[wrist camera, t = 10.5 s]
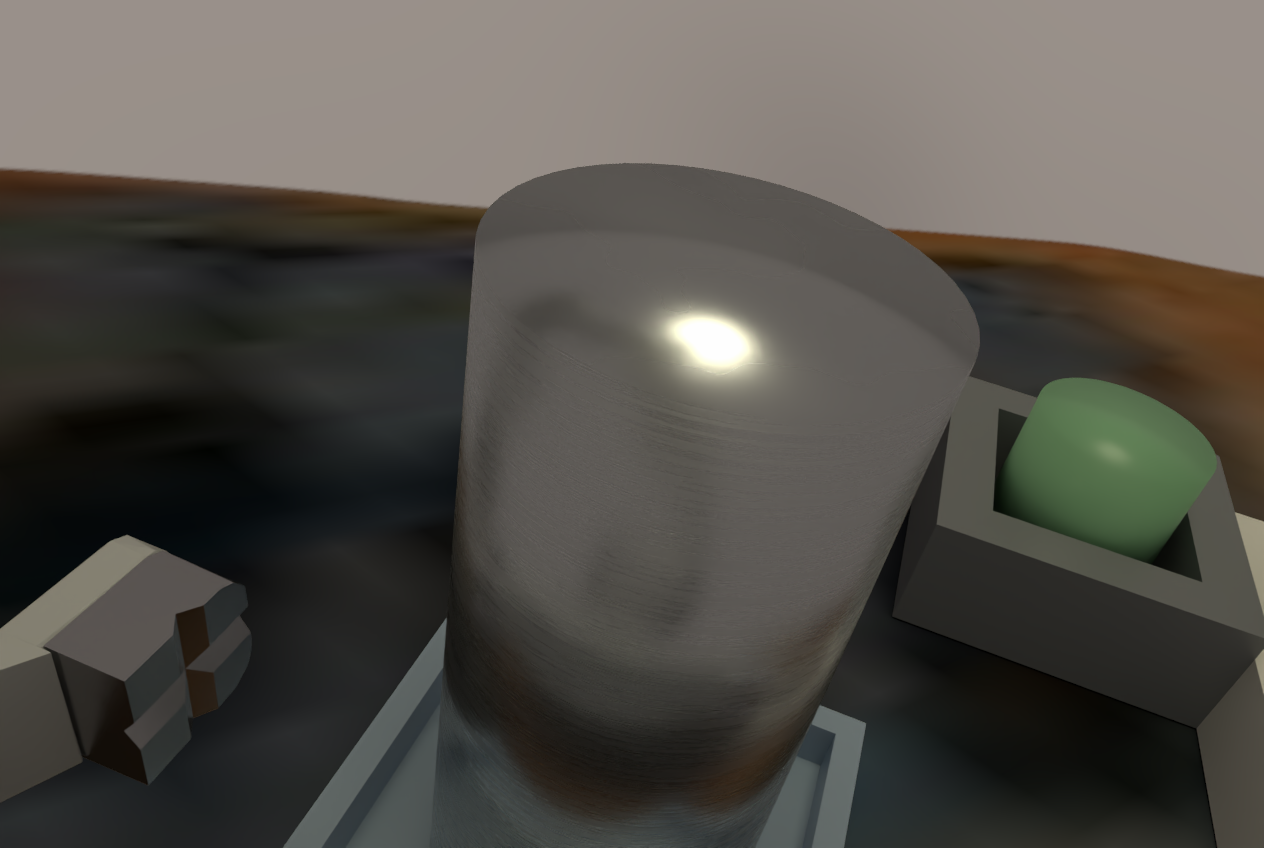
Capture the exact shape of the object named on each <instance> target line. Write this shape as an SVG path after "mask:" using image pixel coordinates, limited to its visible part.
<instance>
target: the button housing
mask: <svg viewBox="0 0 1264 848" xmlns="http://www.w3.org/2000/svg"><path fill="white" fill-rule="evenodd" d="M1036 400H1037V398H1036V397H1033V396H1029V395H1026V394H1023V393H1020V392H1017V391H1014V390H1011V389H1007V388H1004V387H1001V386H998V385H995V384H992V383H989V382H985V381H982V380H979V379H976V378H973V377H970V376H969V377H968V379H967V381H966V383H965V386H964V388H963V390H962V392H961V394H960V397H959V399H958V401H957V403H956V406H955V408H954V410H953V412H952V414H951V417H950V419H949V421H948V423H947V425H946V428H945V430H944V432H943V434H942V436H941V439H940V441H939V443H938V445H937V447H936V450H935V452H934V454H933V456H932V458H931V461H930V463H929V465H928V467H927V470H926V472H925V474H924V476H923V478H922V481H921V483H920V485H919V487H918V489H917V492H916V494H915V496H914V498H913V500H912V504H911V510H910V515H909V521H908V527H907V533H906V539H905V544H904V550H903V556H902V562H901V568H900V574H899V579H898V585H897V591H896V597H895V603H894V609H893V614H892V617H895V618H898V619H900V620H903V621H906V622H909V623H911V624H914V625H917V626H919V627H922V628H925V629H928V630H930V631H933V632H936V633H938V634H941V635H944V636H947V637H949V638H952V639H955V640H957V641H960V642H963V643H966V644H968V645H971V646H974V647H976V648H979V649H982V650H985V651H987V652H990V653H993V654H995V655H998V656H1001V657H1004V658H1006V659H1009V660H1012V661H1014V662H1017V663H1020V664H1023V665H1025V666H1028V667H1031V668H1033V669H1036V670H1039V671H1042V672H1044V673H1047V674H1050V675H1052V676H1055V677H1058V678H1061V679H1063V680H1066V681H1069V682H1071V683H1074V684H1077V685H1080V686H1082V687H1085V688H1088V689H1090V690H1093V691H1096V692H1099V693H1101V694H1104V695H1107V696H1109V697H1112V698H1115V699H1118V700H1120V701H1123V702H1126V703H1128V704H1131V705H1134V706H1137V707H1139V708H1142V709H1145V710H1147V711H1150V712H1153V713H1156V714H1158V715H1161V716H1164V717H1166V718H1169V719H1172V720H1175V721H1177V722H1180V723H1183V724H1185V725H1188V726H1191V727H1194V728H1196V729H1197V727H1198V726H1199V725H1200V724H1201V723H1202V721H1203V720H1204V719H1205V718H1206V717H1207V716H1208V714H1209V713H1210V712H1211V711H1212V710H1213V708H1214V707H1215V706H1216V705H1217V704H1218V703H1219V701H1220V700H1221V699H1222V698H1223V697H1224V695H1225V694H1226V693H1227V692H1228V691H1229V690H1230V688H1231V687H1232V686H1233V685H1234V684H1235V682H1236V681H1237V680H1238V679H1239V678H1240V677H1241V675H1242V674H1243V673H1244V672H1245V671H1246V669H1247V668H1248V667H1249V666H1250V665H1251V664H1252V662H1253V661H1254V660H1255V659H1256V658H1257V657H1258V655H1259V654H1260V653H1261V652H1262V651H1263V649H1264V614H1263V611H1262V607H1261V604H1260V600H1259V597H1258V593H1257V589H1256V586H1255V582H1254V579H1253V575H1252V572H1251V568H1250V564H1249V561H1248V557H1247V554H1246V550H1245V547H1244V543H1243V540H1242V536H1241V532H1240V529H1239V525H1238V522H1237V518H1236V515H1235V511H1234V507H1233V504H1232V500H1231V497H1230V493H1229V490H1228V486H1227V483H1226V479H1225V475H1224V472H1223V468H1222V465H1221V461H1220V458H1219V456H1218V455H1216V459H1217V467H1216V470H1215V472H1214V474H1213V475H1212V477H1211V478H1210V480H1209V481H1208V483H1207V484H1206V486H1205V487H1204V489H1203V490H1202V491H1201V493H1200V494H1199V496H1198V497H1197V499H1196V500H1195V502H1194V503H1193V505H1192V506H1191V507H1190V509H1189V510H1188V512H1187V513H1186V515H1185V516H1184V518H1183V519H1182V521H1181V522H1180V523H1179V525H1178V526H1177V528H1176V529H1175V531H1174V532H1173V534H1172V535H1171V537H1170V538H1169V539H1168V541H1167V542H1166V544H1165V545H1164V547H1163V548H1162V550H1161V551H1160V553H1159V554H1158V556H1157V557H1156V558H1155V560H1154V561H1153V563H1152V564H1151V565H1150V564H1147V563H1144V562H1142V561H1139V560H1136V559H1133V558H1130V557H1127V556H1124V555H1121V554H1118V553H1115V552H1112V551H1109V550H1106V549H1104V548H1101V547H1098V546H1095V545H1092V544H1089V543H1086V542H1083V541H1080V540H1077V539H1074V538H1071V537H1068V536H1066V535H1063V534H1060V533H1057V532H1054V531H1051V530H1048V529H1045V528H1042V527H1039V526H1036V525H1033V524H1030V523H1028V522H1025V521H1022V520H1019V519H1016V518H1013V517H1010V516H1007V515H1004V514H1001V513H998V512H995V511H993V501H994V483H995V480H996V478H997V476H998V474H999V472H1000V470H1001V468H1002V466H1003V464H1004V463H1005V461H1006V459H1007V457H1008V455H1009V453H1010V451H1011V449H1012V447H1013V445H1014V443H1015V441H1016V439H1017V437H1018V435H1019V433H1020V431H1021V429H1022V427H1023V425H1024V424H1025V422H1026V420H1027V418H1028V416H1029V414H1030V412H1031V410H1032V408H1033V406H1034V404H1035V402H1036Z"/></svg>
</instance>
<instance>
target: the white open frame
mask: <svg viewBox="0 0 1264 848" xmlns="http://www.w3.org/2000/svg"><path fill="white" fill-rule="evenodd" d="M1235 515H1236V518H1237V522H1238V525H1239V529H1240V532H1241V536H1242V540H1243V543H1244V547H1245V550H1246V554H1247V557H1248V561H1249V564H1250V568H1251V572H1252V575H1253V579H1254V582H1255V586H1256V589H1257V593H1258V597H1259V600H1260V604H1261V607H1262V611H1263V614H1264V522H1263V521H1260V520H1257V519H1254V518H1250V517H1247V516H1244V515H1241V514H1238V513H1235ZM1197 734H1198V740H1199V746H1200V752H1201V757H1202V763H1203V769H1204V775H1205V780H1206V786H1207V792H1208V797H1209V803H1210V809H1211V815H1212V820H1213V826H1214V832H1215V837H1216V843H1217V848H1264V649H1263V651H1262V652H1261V653H1260V654H1259V655H1258V657H1257V658H1256V659H1255V660H1254V661H1253V662H1252V664H1251V665H1250V666H1249V667H1248V668H1247V669H1246V671H1245V672H1244V673H1243V674H1242V675H1241V677H1240V678H1239V679H1238V680H1237V681H1236V682H1235V684H1234V685H1233V686H1232V687H1231V688H1230V690H1229V691H1228V692H1227V693H1226V694H1225V695H1224V697H1223V698H1222V699H1221V700H1220V701H1219V703H1218V704H1217V705H1216V706H1215V707H1214V708H1213V710H1212V711H1211V712H1210V713H1209V714H1208V716H1207V717H1206V718H1205V719H1204V720H1203V721H1202V723H1201V724H1200V725H1199V726H1198V727H1197Z"/></svg>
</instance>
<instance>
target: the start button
mask: <svg viewBox="0 0 1264 848" xmlns="http://www.w3.org/2000/svg"><path fill="white" fill-rule="evenodd" d="M1216 467H1217V459H1216V455H1215V452H1214V450H1213V448H1212V446H1211V445H1210V443H1209V442H1208V440H1207V439H1206V438H1205V437H1204V435H1203V434H1202V433H1201V432H1200V431H1199V430H1198V429H1197V428H1196V427H1195V426H1193V425H1192V424H1191V423H1190V422H1189V421H1187V420H1186V419H1185V418H1184V417H1182V416H1181V415H1179V414H1178V413H1177V412H1175V411H1174V410H1172V409H1170V408H1169V407H1167V406H1165V405H1164V404H1162V403H1160V402H1158V401H1156V400H1154V399H1152V398H1150V397H1148V396H1146V395H1144V394H1142V393H1139V392H1137V391H1134V390H1132V389H1129V388H1126V387H1123V386H1120V385H1117V384H1113V383H1109V382H1105V381H1100V380H1095V379H1087V378H1065V379H1060V380H1056V381H1053V382H1051V383H1049V384H1047V385H1046V386H1045V387H1044V388H1043V389H1042V390H1041V392H1040V394H1039V396H1038V398H1037V400H1036V402H1035V404H1034V406H1033V408H1032V410H1031V412H1030V414H1029V416H1028V418H1027V420H1026V422H1025V424H1024V425H1023V427H1022V429H1021V431H1020V433H1019V435H1018V437H1017V439H1016V441H1015V443H1014V445H1013V447H1012V449H1011V451H1010V453H1009V455H1008V457H1007V459H1006V461H1005V463H1004V464H1003V466H1002V468H1001V470H1000V472H999V474H998V476H997V478H996V480H995V483H994V501H993V511H995V512H998V513H1001V514H1004V515H1007V516H1010V517H1013V518H1016V519H1019V520H1022V521H1025V522H1028V523H1030V524H1033V525H1036V526H1039V527H1042V528H1045V529H1048V530H1051V531H1054V532H1057V533H1060V534H1063V535H1066V536H1068V537H1071V538H1074V539H1077V540H1080V541H1083V542H1086V543H1089V544H1092V545H1095V546H1098V547H1101V548H1104V549H1106V550H1109V551H1112V552H1115V553H1118V554H1121V555H1124V556H1127V557H1130V558H1133V559H1136V560H1139V561H1142V562H1144V563H1147V564H1150V565H1151V564H1152V563H1153V561H1154V560H1155V558H1156V557H1157V556H1158V554H1159V553H1160V551H1161V550H1162V548H1163V547H1164V545H1165V544H1166V542H1167V541H1168V539H1169V538H1170V537H1171V535H1172V534H1173V532H1174V531H1175V529H1176V528H1177V526H1178V525H1179V523H1180V522H1181V521H1182V519H1183V518H1184V516H1185V515H1186V513H1187V512H1188V510H1189V509H1190V507H1191V506H1192V505H1193V503H1194V502H1195V500H1196V499H1197V497H1198V496H1199V494H1200V493H1201V491H1202V490H1203V489H1204V487H1205V486H1206V484H1207V483H1208V481H1209V480H1210V478H1211V477H1212V475H1213V474H1214V472H1215V470H1216Z"/></svg>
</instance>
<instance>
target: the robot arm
mask: <svg viewBox="0 0 1264 848" xmlns="http://www.w3.org/2000/svg"><path fill="white" fill-rule="evenodd" d="M247 607H248V602H247V596H246V590H245V586H244V585H242V584H239V583H237V582H235V581H232V580H230V579H228V578H225V577H223V576H221V575H218V574H216V573H214V572H211V571H209V570H207V569H205V568H202V567H200V566H198V565H195V564H193V563H191V562H188V561H186V560H184V559H181V558H179V557H177V556H174V555H172V554H170V553H168V552H167V551H164V550H162V549H159V548H157V547H155V546H152V545H150V544H147V543H145V542H143V541H140V540H138V539H135V538H133V537H131V536H128V535H126V536H123V537H121V538H118V539H115V540H112V541H110V542H108V543H107V544H106V545H104V546H103V547H102V548H101V549H99V550H98V551H97V552H96V553H94V554H93V555H92V556H91V557H89V558H88V559H87V560H86V561H84V562H83V563H82V564H81V565H79V566H78V567H77V568H76V569H74V570H73V571H72V572H71V573H69V574H68V575H67V576H66V577H64V578H63V579H62V580H61V581H59V582H58V583H57V584H56V585H54V586H53V587H52V588H51V589H49V590H48V591H47V592H46V593H44V594H43V595H42V596H41V597H39V598H38V599H37V600H36V601H34V602H33V603H32V604H31V605H29V606H28V607H27V608H26V609H24V610H23V611H22V612H21V613H19V614H18V615H17V616H16V617H14V618H13V619H12V620H11V621H9V622H8V623H7V624H6V625H4V626H3V627H2V628H1V629H0V802H2V801H4V800H6V799H8V798H10V797H12V796H14V795H16V794H18V793H21V792H23V791H25V790H27V789H29V788H31V787H33V786H35V785H37V784H39V783H41V782H43V781H45V780H47V779H49V778H51V777H53V776H55V775H57V774H59V773H61V772H63V771H65V770H67V769H69V768H71V767H73V766H75V765H77V764H79V763H81V762H82V761H83V759H82V757H84V758H87V759H89V760H91V761H93V762H96V763H98V764H100V765H103V766H105V767H107V768H110V769H112V770H114V771H116V772H119V773H121V774H123V775H126V776H128V777H130V778H133V779H135V780H137V781H140V782H142V783H144V784H146V785H149V784H150V783H151V782H152V781H153V780H154V779H155V778H156V777H157V776H158V774H159V773H160V772H161V771H162V770H163V769H164V768H165V767H166V766H167V764H168V763H169V762H170V761H171V760H172V759H173V758H174V757H175V756H176V755H177V753H178V752H179V751H180V750H181V749H182V748H183V747H184V746H185V745H186V743H187V742H188V741H189V740H190V739H191V734H192V724H193V718H194V717H197V716H199V715H202V714H204V713H207V712H209V711H212V710H214V709H217V708H219V707H220V705H221V704H222V703H223V702H224V701H225V700H226V699H227V697H228V696H229V695H230V694H231V693H232V692H233V690H234V689H235V688H236V686H237V684H238V682H239V681H240V679H241V677H242V675H243V673H244V671H245V669H246V668H247V666H248V663H249V658H250V654H251V649H252V641H251V632H250V630H249V629H248V627H247V626H246V625H245V623H244V622H243V620H242V619H241V617H240V616H239V615H240V614H241V613H242V612H243V611H244V610H245V609H246V608H247Z"/></svg>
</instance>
